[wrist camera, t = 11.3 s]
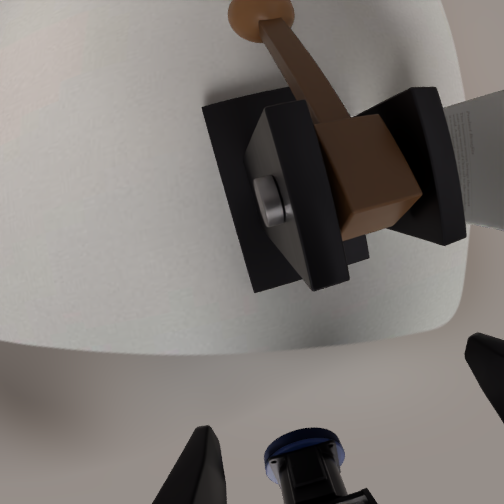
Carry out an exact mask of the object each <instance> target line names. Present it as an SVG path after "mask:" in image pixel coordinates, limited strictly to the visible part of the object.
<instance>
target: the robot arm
mask: <svg viewBox="0 0 504 504" xmlns="http://www.w3.org/2000/svg"><path fill="white" fill-rule="evenodd" d="M465 359H466V361H467V363H468V365H469V367H470V368H471V370H472V372H473V374H474V376H475V377H476V379H477V381H478V383H479V385H480V387H481V389H482V390H483V392H484V393H485V395H486V397H487V398H488V400H489V401H490V403H491V404H492V406H493V407H494V409H495V410H496V412H497V413H498V415H499V417H500V418H501V420H502V421H503V423H504V340H501V339H498V338H495V337H492V336H489V335H485V334H482V333H475V334H473V335H471V336H470V337H469V338H468V341H467V345H466V350H465ZM268 461H269V465H270V467H271V469H272V471H273V473H274V476H275V478H276V480H277V482H278V484H279V486H280V488H281V490H282V495H283V500H284V504H377V502H376V501H375V499H374V498H373V496H372V495H371V493H370V492H369V490H368V489H367V488H365V489H362V490H361V491H358V492H355V493H352V494H349V495H348V494H347V492H346V488H345V486H344V483H343V481H342V478H341V476H340V465H339V459H338V453H337V447H336V443H335V441H334V440H328V441H325V442H322V443H319V444H316V445H313V446H309V447H306V448H302V449H299V450H295V451H291V452H288V453H284V454H280V455H276V456H272V457H270V458H269V459H268ZM226 500H227V497H226V481H225V475H224V469H223V462H222V456H221V450H220V444H219V440H218V438H217V437H216V435H215V433H214V431H213V430H212V428H211V427H210V426H208V425H206V426H199V427H197V428H196V429H195V430H194V432H193V434H192V436H191V437H190V439H189V441H188V443H187V445H186V446H185V448H184V450H183V452H182V453H181V455H180V457H179V459H178V460H177V462H176V464H175V465H174V467H173V469H172V471H171V472H170V474H169V476H168V478H167V479H166V481H165V483H164V484H163V486H162V488H161V489H160V491H159V493H158V495H157V496H156V498H155V500H154V501H153V503H152V504H227V501H226Z"/></svg>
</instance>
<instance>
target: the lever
mask: <svg viewBox="0 0 504 504" xmlns="http://www.w3.org/2000/svg"><path fill="white" fill-rule="evenodd" d="M294 17H295V13H294V8H293V5H292V3H291V1H290V0H232V1H231V3H230V5H229V9H228V20H229V23H230V26H231V27H232V29H233V30H234V31H235V32H236V33H237V34H238V35H239V36H240V37H242V38H244V39H245V40H248V41H251V42H255V43H264V44H265V46H266V47H267V49H268V51H269V52H270V54H271V56H272V57H273V59H274V61H275V63H276V64H277V66H278V68H279V69H280V71H281V73H282V75H283V76H284V78H285V80H286V82H287V84H288V85H289V87H290V89H291V91H292V93H293V95H294V96H295V98H296V100H302V99H304V100H306V102H307V105H308V108H309V111H310V115H311V118H312V121H313V124H314V128H315V131H316V135H317V138H318V142H319V145H320V149H321V152H322V156H323V160H324V164H325V167H326V171H327V175H328V179H329V183H330V187H331V191H332V195H333V199H334V204H335V208H336V212H337V217H338V221H339V226H340V231H341V235H342V240H343V241H345V240H348V239H351V238H355V237H358V236H361V235H365V234H368V233H371V232H375V231H378V230H381V229H384V228H388V227H391V226H393V225H394V224H395V223H396V222H397V221H398V220H399V219H400V218H401V217H402V216H403V215H404V214H405V213H406V212H407V211H408V210H409V209H410V208H411V207H412V206H413V204H414V203H415V202H416V201H417V200H418V199H419V198H420V197H421V196H422V191H421V189H420V187H419V185H418V182H417V180H416V178H415V176H414V174H413V173H412V171H411V169H410V167H409V165H408V163H407V161H406V159H405V157H404V156H403V154H402V152H401V150H400V148H399V146H398V145H397V143H396V141H395V139H394V138H393V136H392V134H391V133H390V131H389V129H388V128H387V126H386V124H385V123H384V121H383V119H382V118H381V116H380V115H379V114H373V115H366V116H359V117H353V118H351V117H350V115H349V113H348V112H347V110H346V108H345V107H344V105H343V104H342V102H341V100H340V99H339V97H338V96H337V94H336V92H335V91H334V89H333V88H332V86H331V85H330V83H329V82H328V80H327V79H326V77H325V76H324V74H323V73H322V71H321V70H320V68H319V67H318V65H317V64H316V62H315V61H314V60H313V58H312V57H311V55H310V54H309V53H308V51H307V50H306V48H305V47H304V46H303V44H302V43H301V42H300V40H299V39H298V38H297V36H296V35H295V34H294V33H293V31H292V30H291V27H292V25H293V22H294Z"/></svg>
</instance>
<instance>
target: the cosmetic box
mask: <svg viewBox="0 0 504 504" xmlns="http://www.w3.org/2000/svg"><path fill="white" fill-rule="evenodd" d="M443 110H444V114H445V117H446V121H447V125H448V128H449V132H450V136H451V140H452V145H453V149H454V154H455V158H456V163H457V168H458V174H459V180H460V186H461V192H462V199H463V206H464V215H465V223H466V224H471V225H477V226H482V227H487V228H493V229H497V230H501V231H504V90H502V91H498V92H494V93H491V94H488V95H485V96H481V97H478V98H474V99H471V100H467V101H464V102H461V103H458V104H454V105H451V106H448V107H445V108H443Z"/></svg>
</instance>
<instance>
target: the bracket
mask: <svg viewBox="0 0 504 504" xmlns="http://www.w3.org/2000/svg"><path fill="white" fill-rule="evenodd" d="M202 111H203V115H204V118H205V122H206V126H207V129H208V133H209V136H210V140H211V143H212V147H213V151H214V154H215V158H216V161H217V165H218V168H219V172H220V176H221V179H222V183H223V186H224V190H225V193H226V197H227V200H228V204H229V207H230V211H231V214H232V218H233V221H234V225H235V228H236V232H237V235H238V239H239V242H240V246H241V249H242V253H243V256H244V260H245V263H246V266H247V270H248V273H249V277H250V280H251V284H252V287H253V291H254V293H257V292H260V291H264V290H267V289H271V288H274V287H278V286H281V285H284V284H288V283H291V282H295V281H298V280H301V279H303V280H304V281H305V283H306V284H307V285H308V286H309V288H310V289H311V290H312V291H317V290H320V289H324V288H327V287H330V286H333V285H336V284H339V283H342V282H345V281H348V280H349V279H350V277H349V271H348V266H347V265H350V264H353V263H356V262H359V261H362V260H365V259H368V258H369V252H368V246H367V241H366V235H361V236H358V237H355V238H351V239H348V240H345V241H343V240H342V235H341V231H340V226H339V221H338V217H337V212H336V208H335V204H334V199H333V195H332V191H331V187H330V183H329V179H328V175H327V171H326V167H325V164H324V160H323V156H322V152H321V149H320V145H319V142H318V138H317V135H316V131H315V128H314V124H313V121H312V118H311V115H310V111H309V108H308V105H307V102H306V100H304V99H302V100H296V98H295V96H294V95H293V93H292V91H291V89H290V87H285V88H280V89H275V90H270V91H265V92H260V93H255V94H251V95H247V96H242V97H238V98H234V99H230V100H226V101H222V102H218V103H215V104H211V105H208V106H204V107H202ZM373 114H379V115H380V116H381V118H382V119H383V121H384V123H385V124H386V126H387V128H388V129H389V131H390V133H391V134H392V136H393V138H394V139H395V141H396V143H397V145H398V146H399V148H400V150H401V152H402V154H403V156H404V157H405V159H406V161H407V163H408V165H409V167H410V169H411V171H412V173H413V174H414V176H415V178H416V180H417V182H418V185H419V187H420V189H421V191H422V196H421V197H420V198H419V199H418V200H417V201H416V202H415V203H414V204H413V206H412V207H411V208H410V209H409V210H408V211H407V212H406V213H405V214H404V215H403V216H402V217H401V218H400V219H399V220H398V221H397V222H396V223H395V224H394V225H393V226H391V227H388V228H387V229H390V230H394V231H397V232H400V233H404V234H407V235H410V236H414V237H417V238H420V239H424V240H427V241H430V242H433V243H436V244H439V245H443V246H446V245H449V244H451V243H454V242H456V241H459V240H461V239H464V238H466V236H467V235H466V224H465V215H464V206H463V199H462V192H461V186H460V180H459V174H458V168H457V163H456V158H455V154H454V149H453V145H452V140H451V136H450V132H449V128H448V125H447V121H446V117H445V114H444V110H443V107H442V104H441V100H440V97H439V94H438V91H437V88H436V87H411V88H409V89H407V90H405V91H403V92H401V93H399V94H397V95H395V96H393V97H391V98H389V99H387V100H385V101H383V102H381V103H379V104H377V105H375V106H373V107H371V108H369V109H367V110H365V111H364V112H362V113H360V114H358V115H356V116H354V117H359V116H366V115H373ZM352 118H353V117H352Z"/></svg>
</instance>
